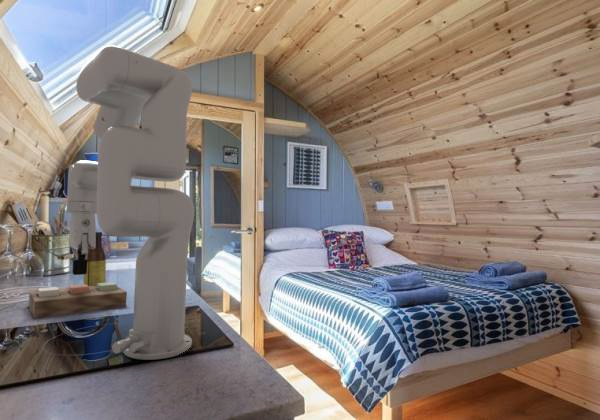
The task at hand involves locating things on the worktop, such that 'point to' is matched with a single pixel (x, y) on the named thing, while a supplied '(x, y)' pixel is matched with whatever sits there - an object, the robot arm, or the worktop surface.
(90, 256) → the sauce bottle
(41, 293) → the cream button
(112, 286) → the sage button
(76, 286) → the terracotta button
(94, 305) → the button panel
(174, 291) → the robot arm
